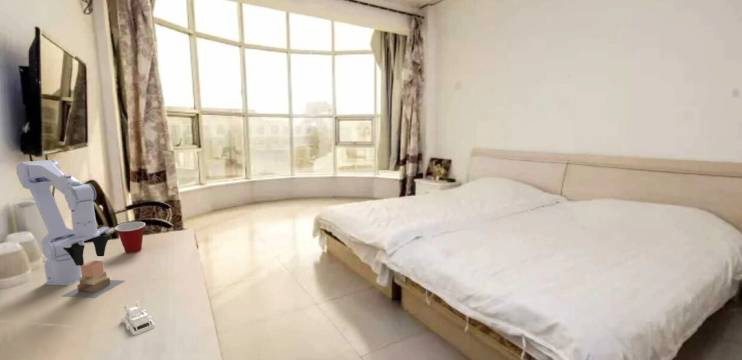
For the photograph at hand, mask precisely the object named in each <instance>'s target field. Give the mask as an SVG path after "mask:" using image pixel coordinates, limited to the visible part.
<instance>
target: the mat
mask: <svg viewBox="0 0 742 360" xmlns="http://www.w3.org/2000/svg"><path fill="white" fill-rule="evenodd" d="M124 282H125V280H120V279H119V280H118V279H116V280H115V279H110V285H108V286H106V287H105V288H103V289H101V290H99V291H97V292H95V293H89V292H78V287H76V288H74V289H72V290H71V291H68V292H67V293H65V294H63V295H61V297H68V298H69V297H70V298H71V297H72V298H85V299H86V298H87V299H88V298H90V299H96V298H98V297H99V296H101V295H103V294H105V293H106V292H108V291H110V290H113V288H116V287H117V286H119V285H120V284H123V283H124Z"/></svg>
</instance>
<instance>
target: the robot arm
mask: <svg viewBox="0 0 742 360" xmlns="http://www.w3.org/2000/svg"><path fill="white" fill-rule="evenodd" d="M15 169H16V176H17V178H18V180H19V182H20V185H21V186H22V188H24V189H27V190H29V191H30V193H31V195H32V197H33V200H34V202H35V204H36V207H37V209H38V212H39V214H40V216H41V219H42V220H43V223H44V226H45V227H46V230H47V234H46V235H45V236H44V237H43V238H42V240H41V242H40V245H41V247H42V253H43V256H44V257H45V259H46V261H45V263H44V272H45V273H44V274H45V277H46V278H45V279H46V282H44V284H45V285H53V286H55V285H57V286H71V285H72V284H74V283H76V282H79V277H81V276H82V273H81V267H80V266H82V265H83V264H85V262H84V261H85V260H84V249H85V241H88V240H91V241H92V243H93V246H94V251H95V255H96V256H97V257H104V256H105V253H106V252H105V251H106V249H107V244H108V242H109V239H110V237H111V236H110V234H109V233H110V231H109V227H100V228H98V226H97V225H98V224H97V219H96V212H95V206H94V205H95V204H94V201H95V200H96V198H97V191H96V189H95V187H94V185H92V183H82V182H81V181H79V180H78V179H77V178H76V177H74V176H72V175H71V174H64V173H63V171H61V167H60V164H59V162H58V161H57V160H55V159H48V160H47V159H45V160H35V161H34V160H33V161H19V162H18V163H17V164H16V167H15ZM52 186H54V188H55V189H56V190H58V191H59V192H60V193H61V194H62V195H64V199H65V200H66V203H67V207H68V209H69V210H70V211H71V217H72V224H73V225H72V226H73V228H68V227H67V226H66V223H65V221H64V218H63V216H62V213H61V212H60V209H59V207H58V205H57V202H56V200H55V198H54V195H53V193H52V191H51V187H52Z"/></svg>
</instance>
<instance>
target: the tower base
mask: <svg viewBox="0 0 742 360" xmlns="http://www.w3.org/2000/svg"><path fill="white" fill-rule="evenodd" d="M110 280H111V279H110V277H107V278H106V279H104V280H102V281H100V282H99V283H97V284H95V285H84V284H80V283H78V284H77V286H76V288H78V292H89V293H95V292H97V291H99V290H101V289H103V288H105V287H106V286H108V285H110Z"/></svg>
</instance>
